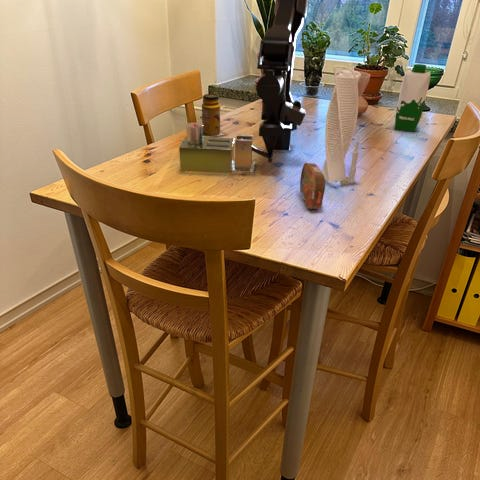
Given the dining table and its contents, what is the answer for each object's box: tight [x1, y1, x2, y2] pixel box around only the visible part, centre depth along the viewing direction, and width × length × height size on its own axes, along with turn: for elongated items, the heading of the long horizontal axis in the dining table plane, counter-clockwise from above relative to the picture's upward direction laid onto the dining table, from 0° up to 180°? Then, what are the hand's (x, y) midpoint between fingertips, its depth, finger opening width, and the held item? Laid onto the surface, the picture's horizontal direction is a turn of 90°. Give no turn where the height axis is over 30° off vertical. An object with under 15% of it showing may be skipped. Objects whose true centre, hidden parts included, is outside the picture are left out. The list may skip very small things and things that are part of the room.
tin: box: [299, 162, 326, 210], centre depth 112 cm, size 15×3×8 cm, turn 5°
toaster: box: [178, 135, 236, 175], centre depth 129 cm, size 15×10×7 cm
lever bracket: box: [231, 134, 256, 174], centre depth 128 cm, size 6×8×9 cm
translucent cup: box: [185, 122, 203, 144], centre depth 126 cm, size 4×4×5 cm
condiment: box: [201, 93, 226, 138], centre depth 153 cm, size 7×8×12 cm
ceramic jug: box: [336, 71, 371, 116], centre depth 177 cm, size 18×14×14 cm
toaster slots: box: [206, 139, 230, 147], centre depth 127 cm, size 6×6×1 cm
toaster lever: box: [241, 137, 274, 164], centre depth 127 cm, size 10×6×2 cm, turn 86°
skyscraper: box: [320, 64, 361, 187], centre depth 117 cm, size 8×8×28 cm
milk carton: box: [393, 63, 432, 133], centre depth 160 cm, size 9×9×20 cm
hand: (270, 154), depth 128 cm, fingers closed, pressing on toaster lever
